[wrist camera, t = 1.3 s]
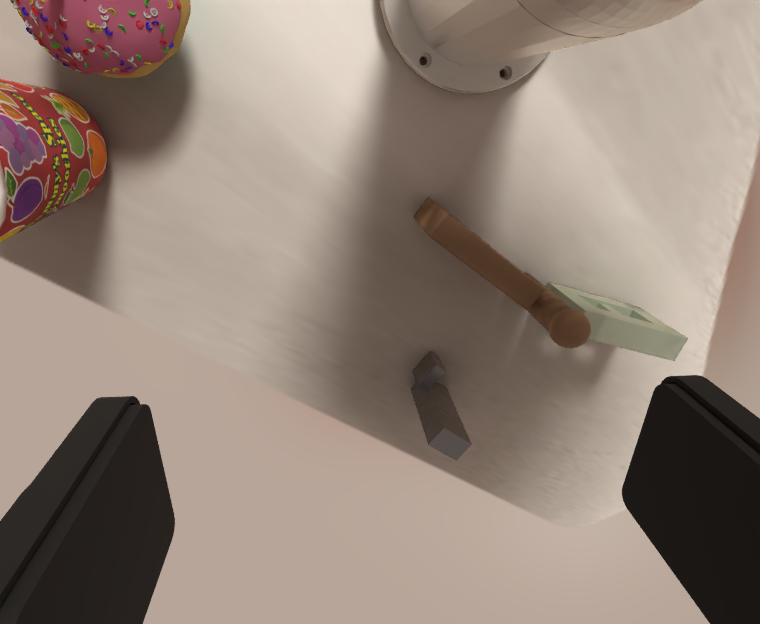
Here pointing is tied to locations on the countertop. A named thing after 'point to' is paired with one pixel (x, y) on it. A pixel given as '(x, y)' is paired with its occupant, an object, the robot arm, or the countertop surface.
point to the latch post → (438, 409)
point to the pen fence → (505, 276)
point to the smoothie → (44, 154)
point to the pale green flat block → (622, 324)
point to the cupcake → (107, 33)
